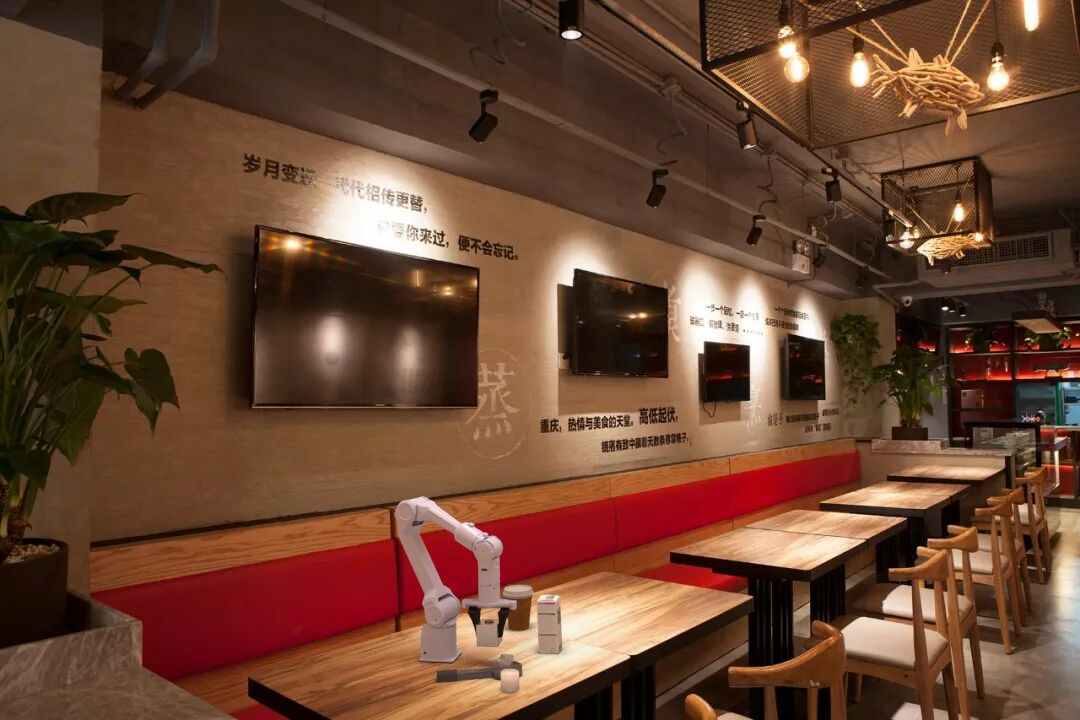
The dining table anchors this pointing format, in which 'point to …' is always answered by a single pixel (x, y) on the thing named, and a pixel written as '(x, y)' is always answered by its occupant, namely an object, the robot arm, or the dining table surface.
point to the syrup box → (549, 624)
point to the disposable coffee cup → (519, 606)
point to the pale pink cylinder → (509, 680)
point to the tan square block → (488, 633)
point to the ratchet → (481, 671)
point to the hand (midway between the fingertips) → (489, 636)
